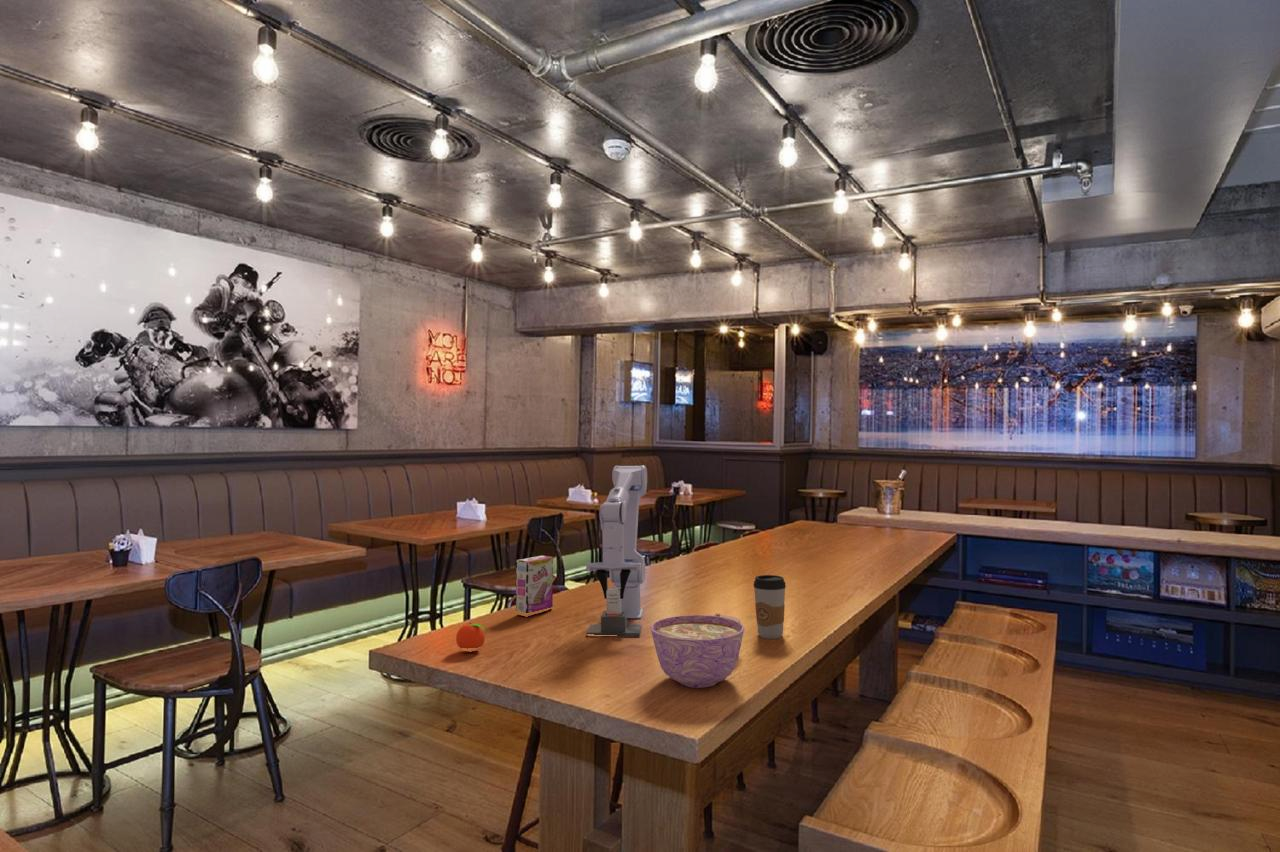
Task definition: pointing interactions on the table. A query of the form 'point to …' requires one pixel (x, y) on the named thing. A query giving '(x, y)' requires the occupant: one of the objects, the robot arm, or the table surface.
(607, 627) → the jack housing
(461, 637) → the clementine
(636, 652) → the table surface
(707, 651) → the bowl of food
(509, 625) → the table surface
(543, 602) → the candy bar box
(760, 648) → the table surface
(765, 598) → the coffee cup
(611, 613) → the block
